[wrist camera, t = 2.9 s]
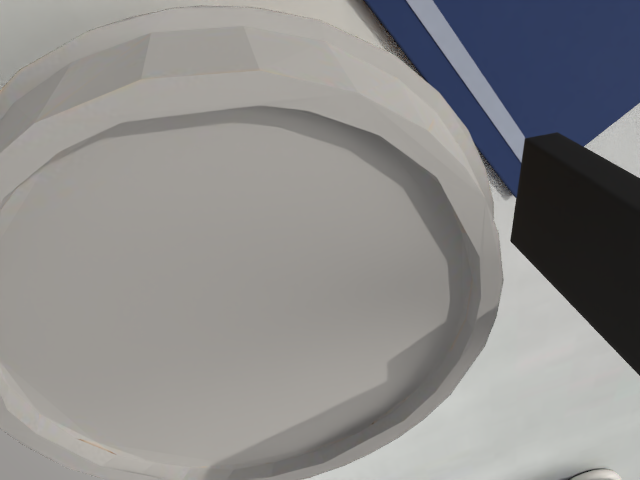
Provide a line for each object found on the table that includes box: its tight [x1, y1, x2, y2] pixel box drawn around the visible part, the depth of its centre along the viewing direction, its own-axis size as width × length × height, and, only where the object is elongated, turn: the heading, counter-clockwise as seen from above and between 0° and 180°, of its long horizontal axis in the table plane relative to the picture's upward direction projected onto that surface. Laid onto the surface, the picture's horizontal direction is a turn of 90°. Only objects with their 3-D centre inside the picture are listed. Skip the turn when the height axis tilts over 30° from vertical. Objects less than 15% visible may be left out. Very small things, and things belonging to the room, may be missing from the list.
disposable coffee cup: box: [0, 6, 503, 480], centre depth 12 cm, size 10×10×12 cm
